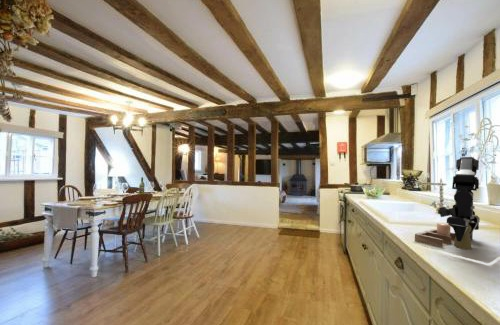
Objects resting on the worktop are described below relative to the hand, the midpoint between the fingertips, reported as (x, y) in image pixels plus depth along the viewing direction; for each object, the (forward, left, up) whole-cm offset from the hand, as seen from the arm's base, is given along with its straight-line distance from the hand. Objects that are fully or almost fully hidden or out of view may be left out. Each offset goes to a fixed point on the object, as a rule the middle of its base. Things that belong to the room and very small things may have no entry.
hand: (462, 239), depth 104 cm
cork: (0, 0, -4) cm, 4 cm away
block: (-6, -9, -3) cm, 11 cm away
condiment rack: (-1, -9, -4) cm, 10 cm away
